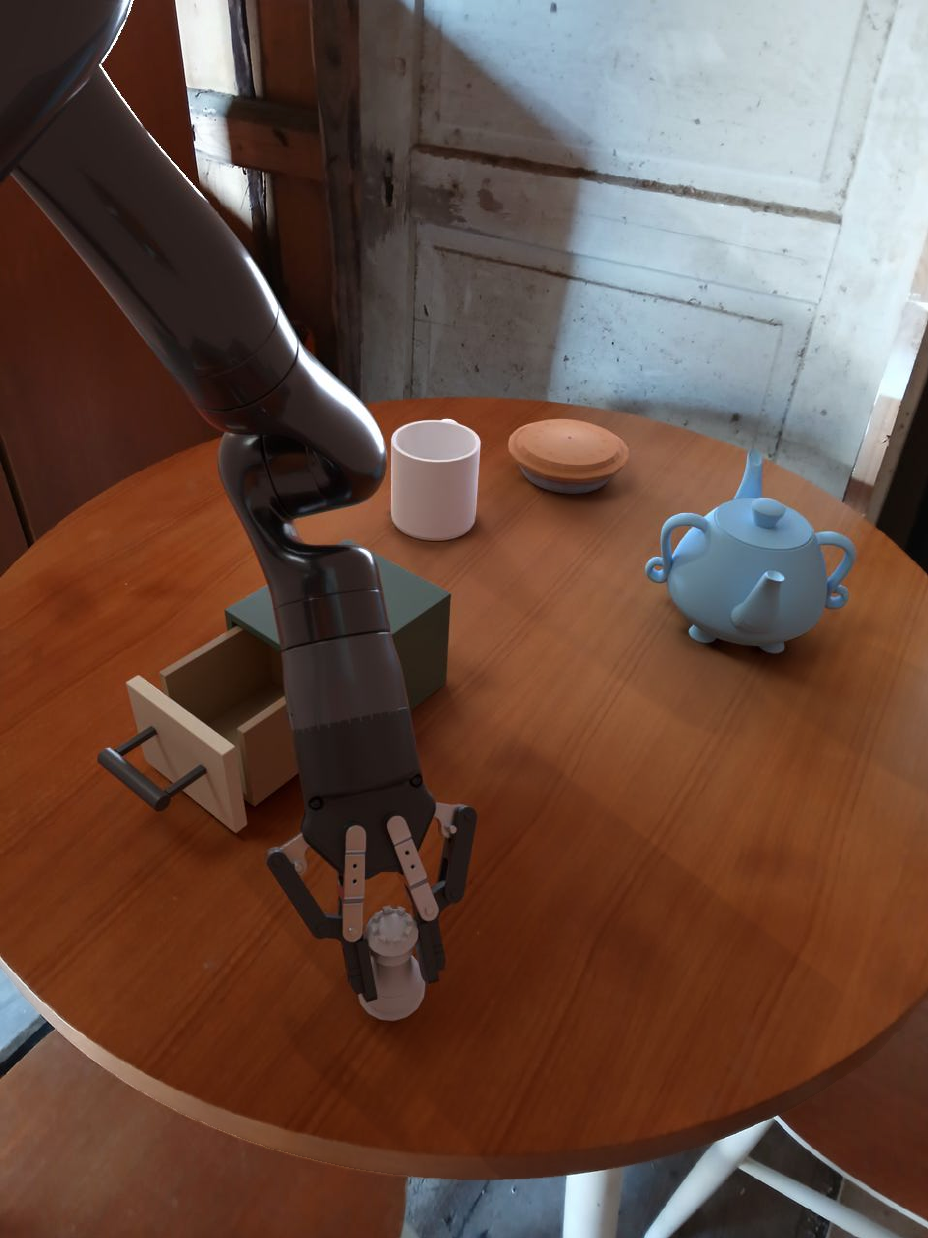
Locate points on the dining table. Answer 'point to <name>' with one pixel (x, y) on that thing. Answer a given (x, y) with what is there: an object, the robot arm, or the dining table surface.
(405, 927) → the rook chess piece
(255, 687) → the drawer
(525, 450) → the pie
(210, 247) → the robot arm
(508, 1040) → the dining table surface
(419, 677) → the cabinet
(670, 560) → the teapot
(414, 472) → the mug
